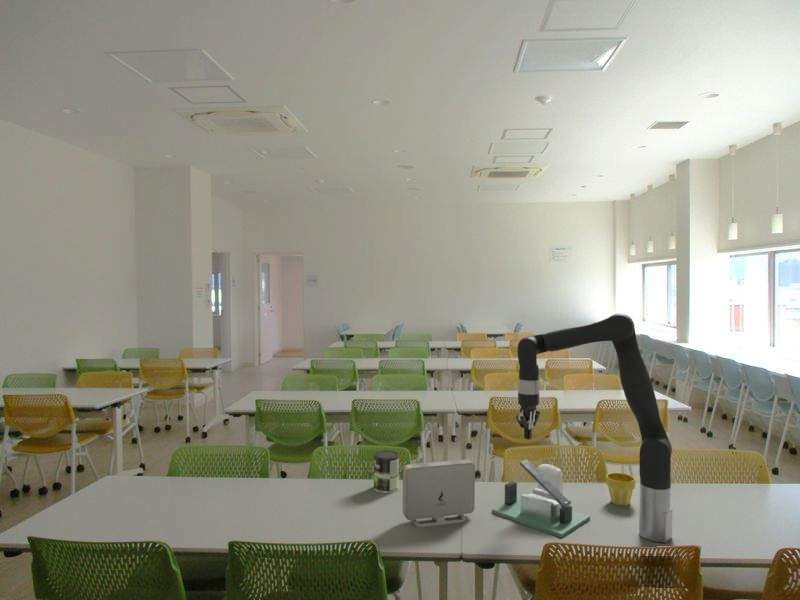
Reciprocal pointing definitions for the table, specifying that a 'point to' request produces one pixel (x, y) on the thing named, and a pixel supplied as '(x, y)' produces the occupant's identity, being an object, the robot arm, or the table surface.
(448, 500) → the network device
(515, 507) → the mainboard
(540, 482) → the grey flat bar
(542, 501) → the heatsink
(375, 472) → the coffee can
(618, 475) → the plant pot
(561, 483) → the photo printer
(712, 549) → the table surface
